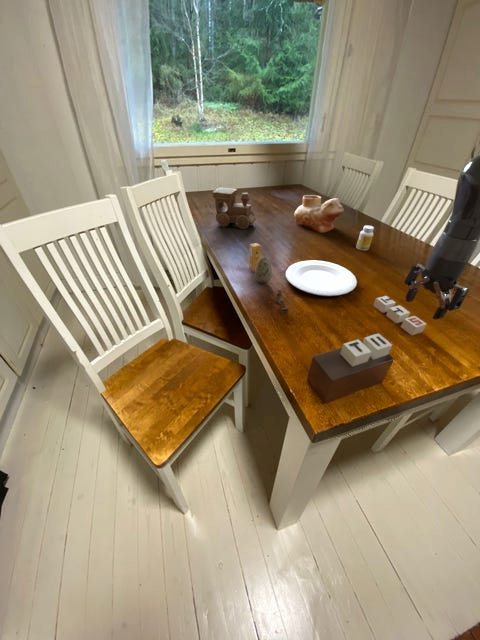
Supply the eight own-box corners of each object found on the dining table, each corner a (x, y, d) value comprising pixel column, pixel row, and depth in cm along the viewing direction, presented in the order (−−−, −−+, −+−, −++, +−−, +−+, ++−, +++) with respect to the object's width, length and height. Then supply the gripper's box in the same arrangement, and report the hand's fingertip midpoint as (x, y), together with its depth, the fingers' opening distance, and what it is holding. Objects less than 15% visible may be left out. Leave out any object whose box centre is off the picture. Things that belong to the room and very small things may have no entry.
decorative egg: (260, 276, 101) (261, 251, 95) (274, 281, 98) (276, 255, 92) (251, 283, 97) (252, 257, 91) (265, 288, 94) (267, 262, 88)
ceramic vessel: (328, 236, 131) (336, 204, 122) (287, 222, 146) (291, 192, 137) (344, 229, 138) (352, 198, 129) (303, 216, 154) (308, 188, 144)
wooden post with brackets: (279, 294, 90) (282, 286, 86) (284, 315, 86) (288, 308, 82) (273, 294, 90) (276, 287, 86) (279, 316, 86) (282, 309, 82)
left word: (387, 354, 59) (392, 344, 57) (352, 366, 56) (356, 356, 54) (374, 343, 62) (378, 332, 60) (340, 353, 59) (343, 343, 57)
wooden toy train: (213, 226, 141) (211, 191, 130) (221, 219, 149) (220, 186, 139) (250, 231, 136) (251, 195, 126) (256, 223, 145) (257, 189, 134)
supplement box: (256, 266, 107) (257, 242, 101) (259, 270, 104) (261, 245, 98) (248, 268, 106) (249, 243, 100) (251, 272, 103) (252, 247, 97)
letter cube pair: (406, 320, 81) (411, 312, 79) (395, 323, 80) (399, 315, 78) (383, 303, 88) (386, 295, 86) (372, 306, 87) (375, 298, 85)
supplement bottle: (353, 247, 121) (359, 226, 115) (360, 244, 124) (366, 223, 118) (364, 252, 118) (371, 230, 112) (371, 248, 121) (378, 227, 115)
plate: (289, 299, 89) (290, 294, 88) (281, 264, 109) (281, 259, 108) (365, 300, 89) (367, 295, 88) (343, 264, 109) (345, 260, 108)
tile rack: (382, 382, 63) (394, 359, 58) (324, 404, 58) (332, 380, 53) (361, 361, 68) (371, 338, 63) (306, 379, 64) (312, 356, 59)
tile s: (422, 332, 77) (427, 323, 75) (411, 335, 76) (416, 327, 74) (410, 323, 80) (415, 315, 78) (400, 326, 79) (404, 318, 77)
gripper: (493, 263, 59) (456, 321, 69) (435, 239, 70) (410, 293, 80) (470, 269, 57) (435, 328, 67) (414, 243, 67) (390, 298, 78)
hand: (421, 309), depth 73 cm, fingers open, 8 cm apart
